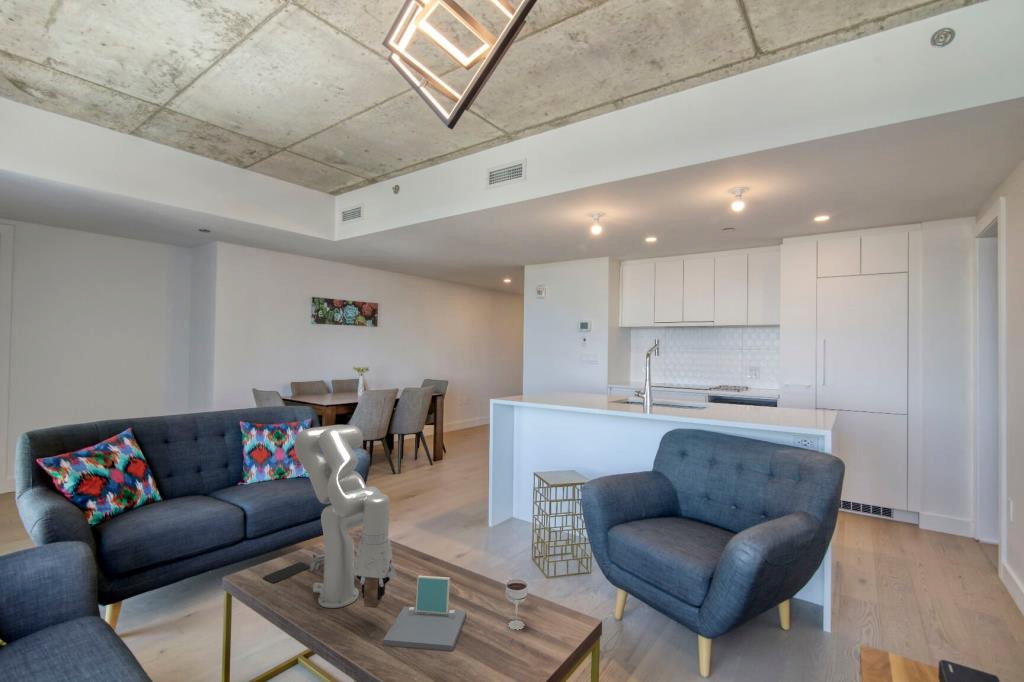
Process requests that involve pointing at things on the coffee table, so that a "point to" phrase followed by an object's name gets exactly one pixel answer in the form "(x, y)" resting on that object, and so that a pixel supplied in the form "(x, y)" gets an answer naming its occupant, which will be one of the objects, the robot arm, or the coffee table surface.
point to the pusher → (371, 592)
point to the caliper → (316, 561)
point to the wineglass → (516, 598)
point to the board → (425, 629)
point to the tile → (432, 594)
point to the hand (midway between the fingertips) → (373, 595)
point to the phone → (286, 572)
